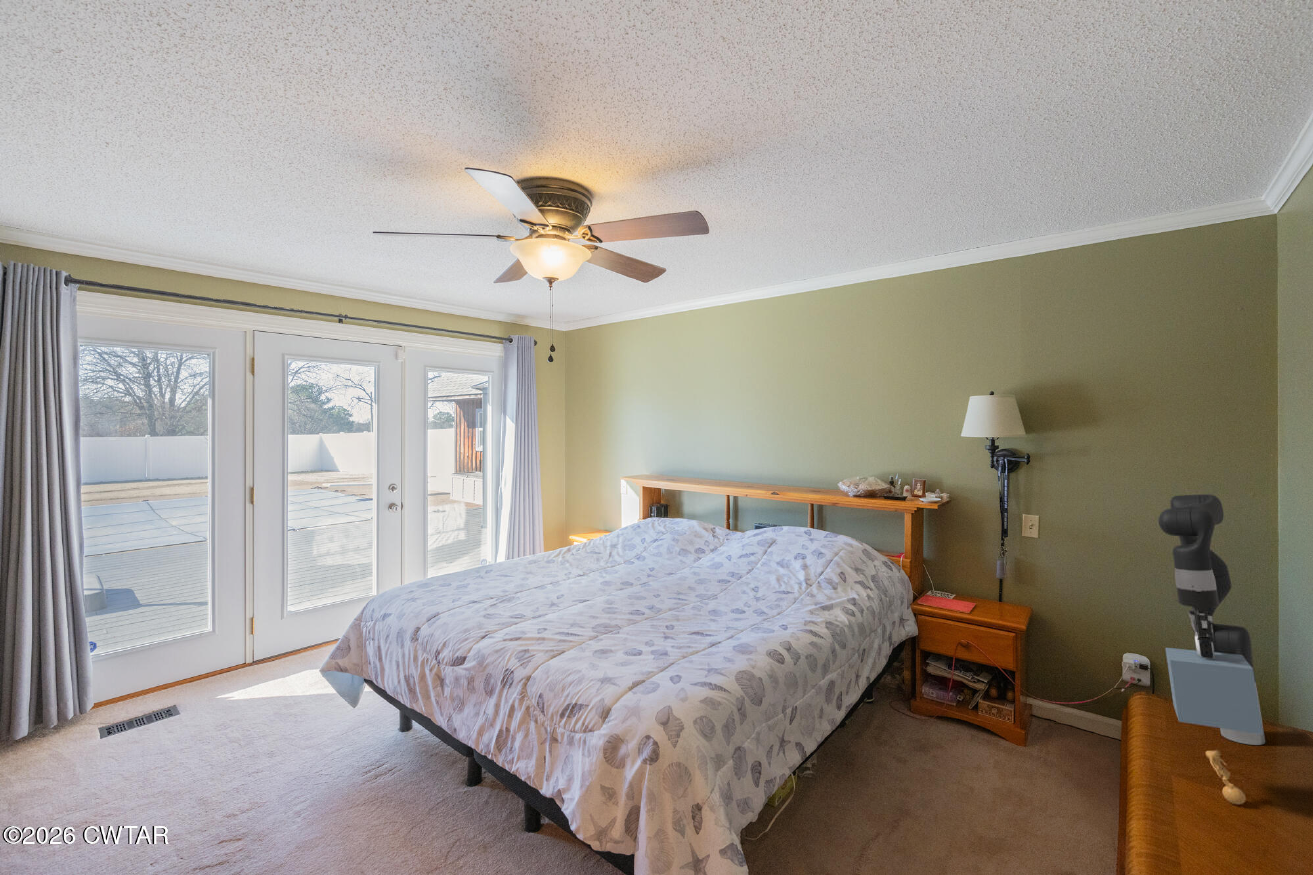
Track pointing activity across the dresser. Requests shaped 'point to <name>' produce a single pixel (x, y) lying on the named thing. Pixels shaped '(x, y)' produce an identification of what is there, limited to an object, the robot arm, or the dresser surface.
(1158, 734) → the dresser surface
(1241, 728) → the block with white knob
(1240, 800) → the figurine
